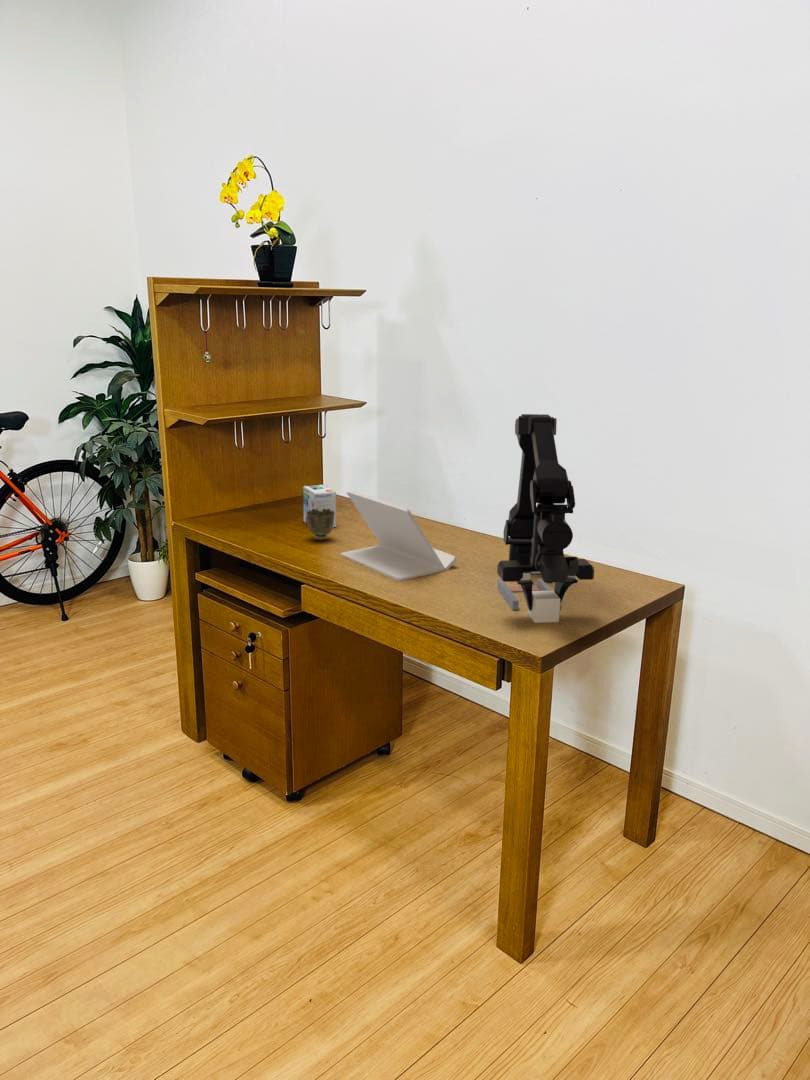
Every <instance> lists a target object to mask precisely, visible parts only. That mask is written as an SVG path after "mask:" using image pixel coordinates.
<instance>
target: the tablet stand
mask: <svg viewBox="0 0 810 1080" xmlns="http://www.w3.org/2000/svg"><path fill="white" fill-rule="evenodd" d="M346 494H347V496H348V497H349V499H350V501H351V502H352V503H353V505H354V506H355V508H356V510H357V511H358V513H359V514H360V515H361V517H362V518H363V520H364V522H365V523H366V525H367V526H368V528H369V529H370V530H371V532H372V533H373V535H374V537H375V538H376V539H377V541H378V544H377V545H373V546H368V547H363V548H358V549H354V550H348V551H344V552H340V556H341V555H342V556H345V557H347V558H349V559H352V560H354V561H356V562H358V563H361V564H363V565H365V566H367V567H369V568H368V569H370V568H371V569H370V570H372V569H373V570H372V571H374V570H375V571H374V572H376V571H377V573H379V572H380V573H379V574H381V573H382V575H383V574H384V575H383V576H385V577H387V578H390V579H392V580H394V581H399V582H401V581H405V580H410V579H414V578H419V577H423V576H426V575H432V574H435V573H439V572H444V571H448V570H449V569H450V568H451V567H452V566H453V565H454V564H456V562H457V558H456V556H455V555H453V554H450V553H447V552H444V551H441V550H439V549H436V548H434V547H433V546H432V545H431V543H430V542H429V540H428V539H427V538H428V537H427V536H426V535H425V534H424V532H423V530H422V528H421V527H420V525H419V522H417V520H416V519H415V516H414V515H413V514H412V512H411V511H410V509H408V508H406V507H404V506H401V505H397V504H394V503H391V502H389V501H385V500H382V499H378V498H376V497H373V496H370V495H366V494H363V493H360V492H358V491H354V490H351V489H349V490H347V492H346ZM342 556H341V557H342ZM345 557H344V558H345ZM347 558H346V559H347ZM349 559H348V560H349ZM354 561H353V562H354ZM356 562H355V563H356ZM358 563H357V564H358ZM361 564H360V565H361ZM363 565H362V566H363ZM365 566H364V567H365ZM367 567H366V568H367Z"/></svg>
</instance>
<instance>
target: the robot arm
mask: <svg viewBox="0 0 810 1080" xmlns="http://www.w3.org/2000/svg"><path fill="white" fill-rule="evenodd" d="M514 422H515V424H514V433H515V436H516V438H517V441H518V445H519V446H518V447H520V449H521V452H522V453H521V462H520V472H519V481H518V488H517V489H518V491H517V500H516V503H515V504H514V505H513V506H512V508H511V509H510V510H509V513H508V519H506V520H505V524H504V529H503V542H504V544H505V545H507V546H508V545H509V553H508V560H500V561H499V562H498V564H497V567H496V568H497V569H496V570H497V571H496V574H497V575H498V576H499V578H500V580H503V581H504V582H505V583H508V582H515V583H517V584H518V585H519V586H521V587H522V589H523V592H522V593H523V596H524V599H525V602H526V606H527V609H529V610H530V611H532V586H534V582H533V580H532V577H531V576H533V575H534V576H535V575H541V579H543V581H544V582H545V583H547V584H552V583H553V584H554V592H555V593H556V594H557V596H558V597H559V598H560V603H561V604H562V601H563V599H564V596H565V594H566V593H567V591H568V589H569V588H570V587H571V586H572V585H574V584H578V582H579V581H583V580H584V581H586V580H590V581H591V580H594V578H595V567H594V566H593V564H591V563H590V561H588V560H586V559H585V558H578V557H577V556H565V553H564V549H566V548H568V547H569V546H570V545H571V543H572V541H573V538H574V533H573V530H572V528H571V527H570V525H569V523H568V522H567V521H566V514H574V509H575V506H576V497H575V492H574V486H573V485H572V481H571V480H569V477H568V472H567V469H565V467H564V466H562V465H561V464H560V463H559V460H558V453H557V446H556V440H555V436H556V435H557V424H558V423H557V418H555V417H553V416H550V414H542V413H541V414H535V413H534V414H533V413H532V414H531V413H530V414H529V413H525V414H524V413H521V415H519V416H518V418H516V419H515V421H514ZM576 577H577V578H576ZM578 580H579V581H578Z"/></svg>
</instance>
